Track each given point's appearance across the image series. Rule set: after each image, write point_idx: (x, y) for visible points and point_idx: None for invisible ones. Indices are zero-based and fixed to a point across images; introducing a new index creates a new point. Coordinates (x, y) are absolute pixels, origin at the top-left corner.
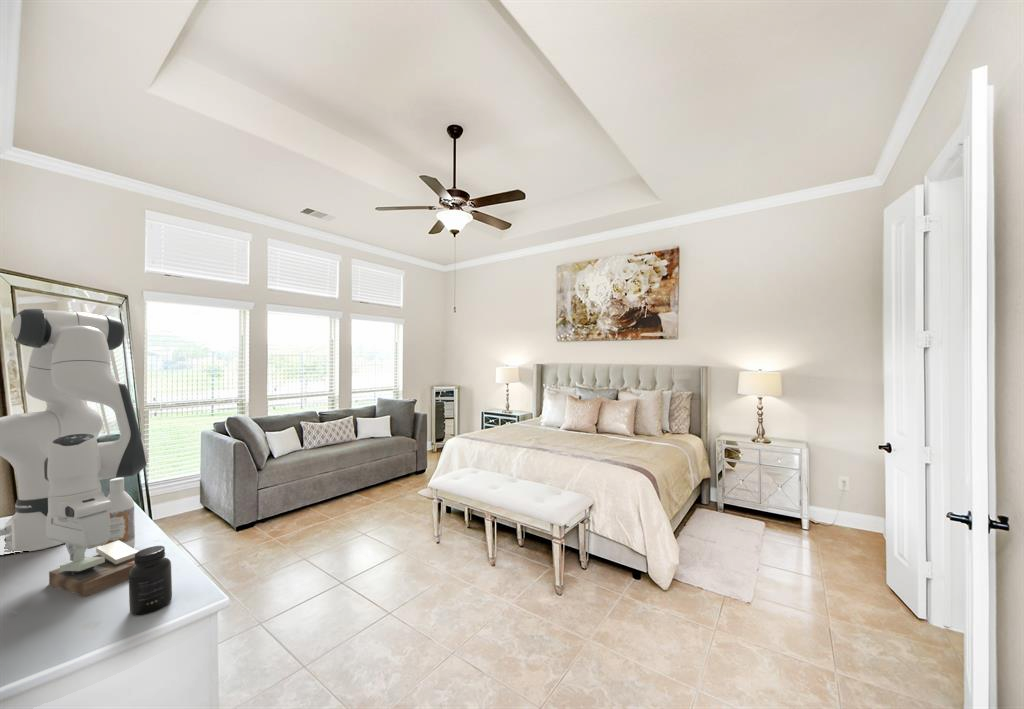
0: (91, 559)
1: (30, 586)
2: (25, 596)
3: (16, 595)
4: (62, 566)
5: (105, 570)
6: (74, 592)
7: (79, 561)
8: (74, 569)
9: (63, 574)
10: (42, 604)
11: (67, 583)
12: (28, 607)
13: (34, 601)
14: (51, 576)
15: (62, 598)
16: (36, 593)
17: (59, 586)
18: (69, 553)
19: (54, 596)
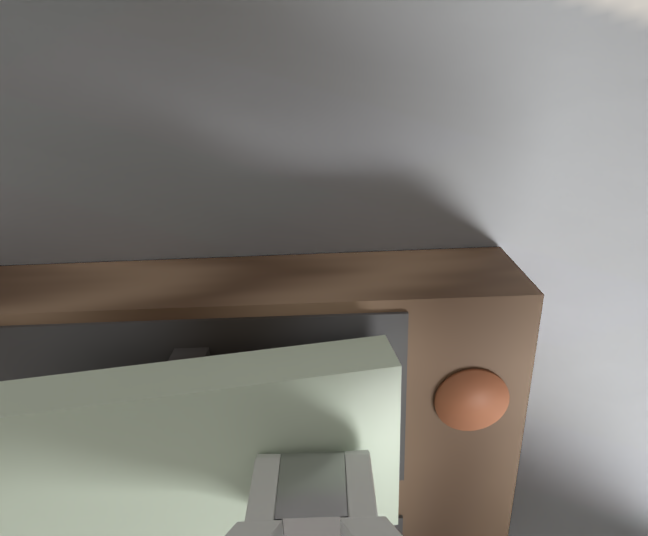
0: (97, 531)
1: (628, 169)
2: (432, 77)
3: (546, 48)
4: (336, 369)
5: None
6: (87, 265)
7: (230, 473)
8: (62, 384)
9: (290, 321)
10: (89, 84)
11: (182, 284)
12: (131, 7)
13: (228, 75)
14: (479, 278)
15: (73, 194)
16: (403, 140)
17: (325, 257)
18: (378, 523)
19: (180, 181)
